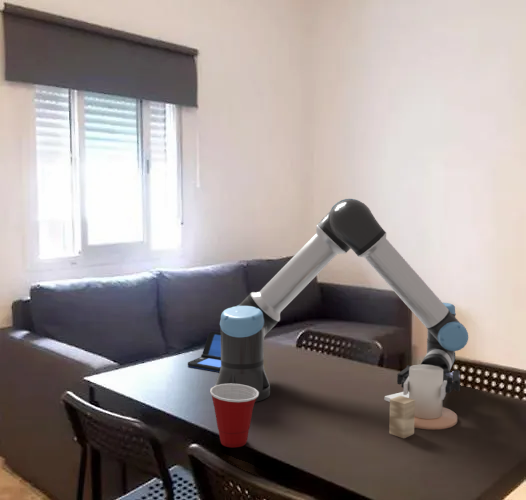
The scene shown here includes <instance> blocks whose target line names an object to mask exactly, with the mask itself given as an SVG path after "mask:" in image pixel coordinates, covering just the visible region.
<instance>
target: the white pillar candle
mask: <svg viewBox="0 0 526 500" xmlns="http://www.w3.org/2000/svg"><path fill="white" fill-rule="evenodd" d="M442 384H443V369H442V368H440V367H438V366H433V365H425V364H421V363H420V364H414V365H410V367H409V398H410V399H414V400H415V417H418V418H423V419H435V418H439V417H441V416H442V407H443V399H440V396H441V386H442Z"/></svg>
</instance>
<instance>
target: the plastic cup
mask: <svg viewBox="0 0 526 500" xmlns="http://www.w3.org/2000/svg"><path fill="white" fill-rule="evenodd" d="M215 385H216V384H215ZM215 385H214V386H213V387H210V391H209V393H210V395H211V398H212V399H211V400H212V401H213V402H212V404H213V407H214V412H215V413H214V414H215V419H216V426H217V430H218V435H219V441H220V444H221V445H222V446H223V447H227V448H241V447H243V446H245V445H246V444H247V443H248V438H249V430H250V427H251V423H252V422H251V421H252V416H253V411H254V410H253V409H254V406H255V403H256V402H255V400H256V398H257V397H258V395H259V392H258V391H257V390H256V389H255V388H252V387H250V386H246V385H242V384H220V385H216V386H215Z"/></svg>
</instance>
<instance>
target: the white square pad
mask: <svg viewBox="0 0 526 500" xmlns="http://www.w3.org/2000/svg"><path fill="white" fill-rule="evenodd" d="M403 392H404V391H400V392H398V393H397V392H396V393H392V394H388V395H385V396H384V401H386V402H388V403H390V399H393V398H395V397H398V396H403V397H407V398H409V392H408V393H407V395H403Z"/></svg>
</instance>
